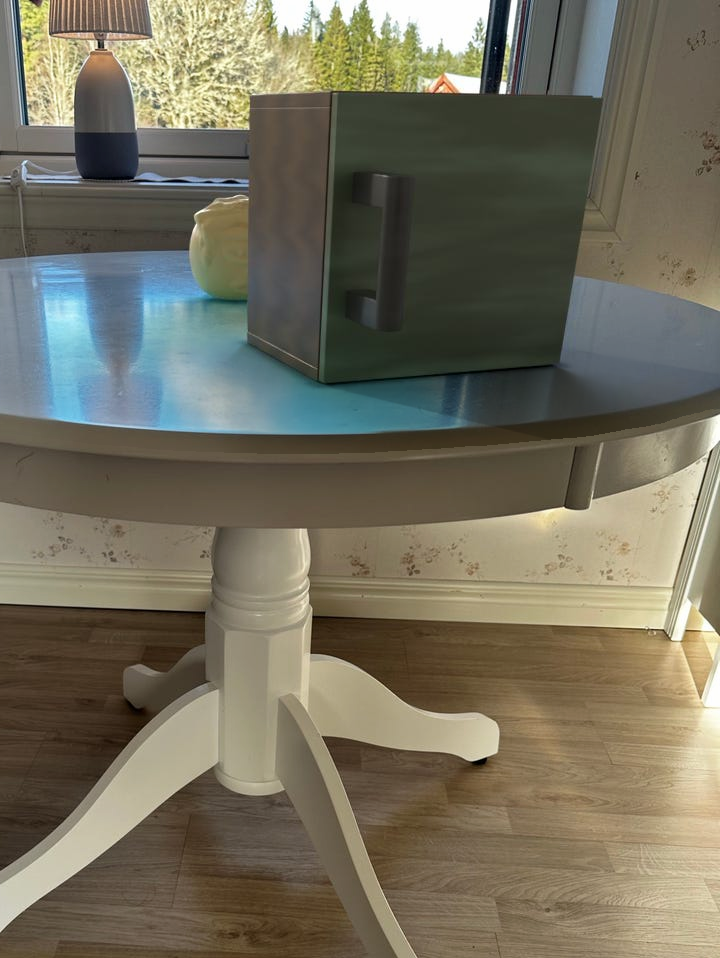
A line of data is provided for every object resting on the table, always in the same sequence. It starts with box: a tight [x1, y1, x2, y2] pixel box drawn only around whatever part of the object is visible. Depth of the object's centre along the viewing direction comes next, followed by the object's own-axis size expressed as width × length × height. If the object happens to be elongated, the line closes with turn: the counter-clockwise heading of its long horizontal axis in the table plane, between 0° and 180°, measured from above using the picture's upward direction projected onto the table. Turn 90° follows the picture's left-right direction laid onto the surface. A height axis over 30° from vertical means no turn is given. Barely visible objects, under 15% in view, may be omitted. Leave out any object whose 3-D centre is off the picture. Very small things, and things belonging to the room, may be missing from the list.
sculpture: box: [188, 194, 249, 301], centre depth 109 cm, size 11×12×11 cm
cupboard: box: [246, 89, 594, 383], centre depth 81 cm, size 16×22×20 cm
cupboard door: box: [319, 93, 604, 384], centre depth 71 cm, size 7×22×20 cm, turn 110°
